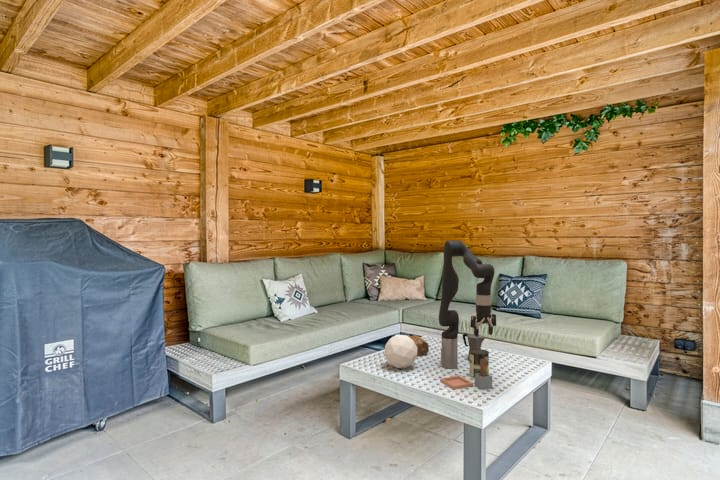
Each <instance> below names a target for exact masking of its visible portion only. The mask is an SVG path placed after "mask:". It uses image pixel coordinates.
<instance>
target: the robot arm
mask: <svg viewBox="0 0 720 480" xmlns="http://www.w3.org/2000/svg"><path fill="white" fill-rule="evenodd" d="M453 257H462V259H463V260H462V261H463V263H464V265H465V266H466V267H467V268H468V269H469V270H471V273H472V275H473V277H474V278H477V279H483V280H482V281H480V282H478V283H476V287H475V288H476V289H475V290H476V291H475V293H476V296H475V313H476V315H471V316H470V328H472V329H473V334H474V335H475V336H477V337H478V336H479V335H480V334H479V333H480V332H479V331H480V330H479V328H480V327H481V326H482V325H484V324H486V325H487V326H488V327H487V329H488V331H487V333H488V335H490V336H492V335H493V333H494V327H496V326H497V315H496V314H495V313H492V283H493V279H494V276H495V273H496V272H495V268H494V266H493V265H492V264H490V263H483V262H482V260H481V259H480V258H479V257H477V256H476V255H475V254H474V253H472V252H471V250H470V248H469V247H468V246H467V245H466V244H465V243H464V242H463V241H462V240H455V239H454V240H453V239H452V240H449V239H448V240H446V241H445V242H444V245H443V271H442V272H443V273H442V282H441V284H442V286H441V300H440V305H439V311H438V322H439V325H440V326H441V327H448V328H447V329H446V330H443V331H442V332H441V349H440V365H441V367H442V368H444V369H451V370H453V369H457V368H458V335H459V325H460V324H459V323H460V317H459V313H458V311H457V310H455V309H451V310H450V309H449V308H450V304H451V302H452V301H453V299H454V298H455V296H456V295H457V293H458V291H459V281H460V278H459V276H458V273H457V272H456V269H455V268H454V266H453Z"/></svg>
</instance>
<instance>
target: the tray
mask: <svg viewBox="0 0 720 480" xmlns="http://www.w3.org/2000/svg"><path fill="white" fill-rule="evenodd" d="M439 382H440V383H441V384H443V385H445V386H446V387H448V388H449V389H452V390H458V389H465V388H470V387H474V382H472V381H470V380H468V379H466V378H465V377H463V376H461V375H454V376H448V377H443V378H441V377H440V378H439Z"/></svg>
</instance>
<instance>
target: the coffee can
mask: <svg viewBox="0 0 720 480" xmlns="http://www.w3.org/2000/svg"><path fill="white" fill-rule="evenodd" d="M469 352H470V361H469V376H470V377H472V378H474V379H475V374H477V373H480V359H486V360H487V367H486V373H487V374H489V369H490V367H489V359H490V357H489V356H490V351H488V350H486V349H484V348H483V349H482V348H481V349H471V350H470V351H469V350H468V353H469ZM489 375H490V374H489Z"/></svg>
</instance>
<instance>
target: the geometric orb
mask: <svg viewBox="0 0 720 480" xmlns="http://www.w3.org/2000/svg"><path fill="white" fill-rule="evenodd" d="M408 336H409V335H405V334H395V335H394V336H392V337H390V338H389V339H388V341H387V342H386V343H385V346H384V357H385V358H386V361H387V362H388V364H390V365H391V366H392V367H394V368H397V369H404V370H406V369H407V368H408V367H410V366H412V365H413V364H415V361H416V360H417V358H418V356H417V349H418V348H417V346H416V344H415V343H414V341H413V340H412V339H411V338H410V337H408Z"/></svg>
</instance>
